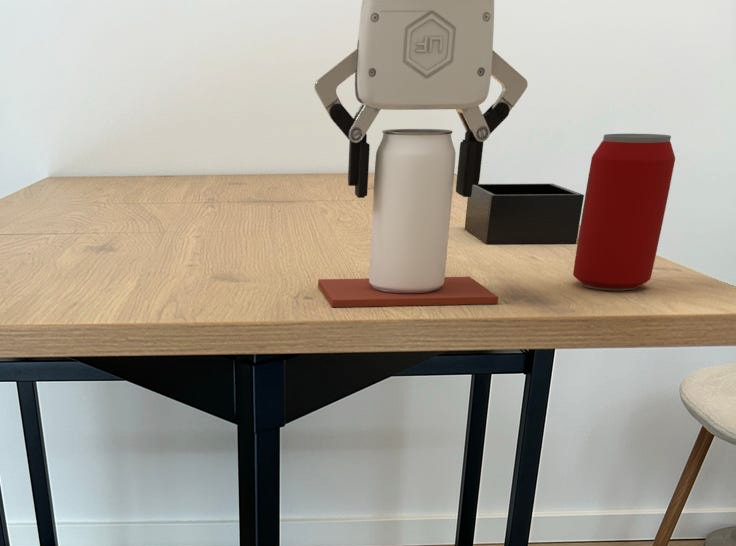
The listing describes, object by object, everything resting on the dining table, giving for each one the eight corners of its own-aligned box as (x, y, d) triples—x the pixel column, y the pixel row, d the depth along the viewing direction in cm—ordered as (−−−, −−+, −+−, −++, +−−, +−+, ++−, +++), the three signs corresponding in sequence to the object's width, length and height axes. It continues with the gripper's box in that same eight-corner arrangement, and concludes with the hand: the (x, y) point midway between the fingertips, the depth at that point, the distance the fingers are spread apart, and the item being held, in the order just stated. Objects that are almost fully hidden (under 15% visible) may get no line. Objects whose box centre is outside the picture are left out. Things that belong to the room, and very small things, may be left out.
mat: (468, 283, 86) (469, 276, 86) (497, 304, 78) (498, 296, 78) (317, 286, 85) (318, 279, 85) (332, 307, 77) (332, 299, 77)
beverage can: (623, 277, 88) (650, 132, 82) (664, 290, 82) (697, 136, 76) (557, 280, 87) (580, 133, 81) (594, 294, 81) (622, 138, 75)
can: (453, 293, 79) (469, 132, 73) (379, 296, 78) (389, 133, 72) (429, 279, 84) (443, 128, 78) (360, 281, 84) (368, 129, 77)
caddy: (576, 243, 105) (584, 194, 103) (486, 244, 105) (491, 195, 103) (546, 228, 116) (553, 183, 113) (464, 228, 116) (469, 184, 113)
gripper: (316, -74, 65) (310, 201, 74) (564, -75, 65) (528, 200, 74) (309, -61, 72) (304, 191, 81) (536, -62, 72) (505, 190, 81)
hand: (412, 194), depth 77 cm, fingers open, 8 cm apart
